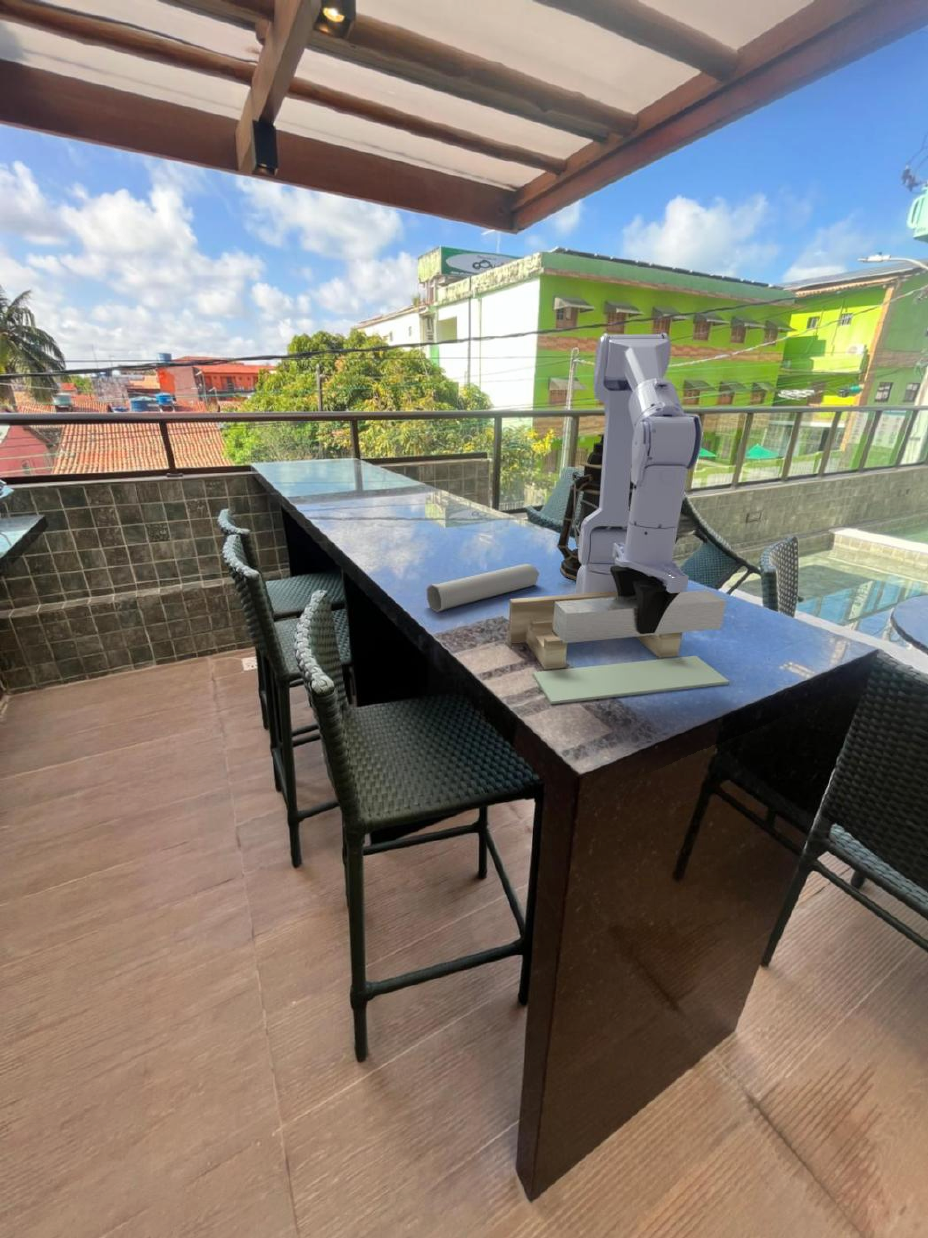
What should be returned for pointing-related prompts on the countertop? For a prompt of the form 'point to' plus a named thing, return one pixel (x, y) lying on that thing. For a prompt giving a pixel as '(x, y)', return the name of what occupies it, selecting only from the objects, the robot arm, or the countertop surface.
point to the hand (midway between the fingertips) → (637, 625)
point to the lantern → (583, 507)
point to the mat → (626, 679)
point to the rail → (635, 616)
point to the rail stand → (536, 629)
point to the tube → (480, 586)
